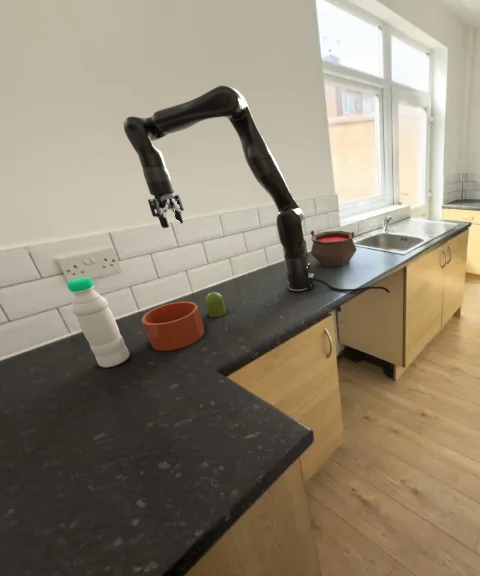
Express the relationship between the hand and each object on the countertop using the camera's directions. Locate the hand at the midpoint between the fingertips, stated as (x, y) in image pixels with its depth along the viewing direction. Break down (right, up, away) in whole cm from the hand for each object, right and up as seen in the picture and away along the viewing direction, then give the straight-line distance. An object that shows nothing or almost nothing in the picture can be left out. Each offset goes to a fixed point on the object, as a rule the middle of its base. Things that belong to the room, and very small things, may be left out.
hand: (173, 225), depth 120 cm
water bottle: (+3, -45, -29) cm, 53 cm away
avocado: (+19, -33, -5) cm, 38 cm away
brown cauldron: (+54, -11, +42) cm, 70 cm away
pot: (+14, -39, -19) cm, 46 cm away
